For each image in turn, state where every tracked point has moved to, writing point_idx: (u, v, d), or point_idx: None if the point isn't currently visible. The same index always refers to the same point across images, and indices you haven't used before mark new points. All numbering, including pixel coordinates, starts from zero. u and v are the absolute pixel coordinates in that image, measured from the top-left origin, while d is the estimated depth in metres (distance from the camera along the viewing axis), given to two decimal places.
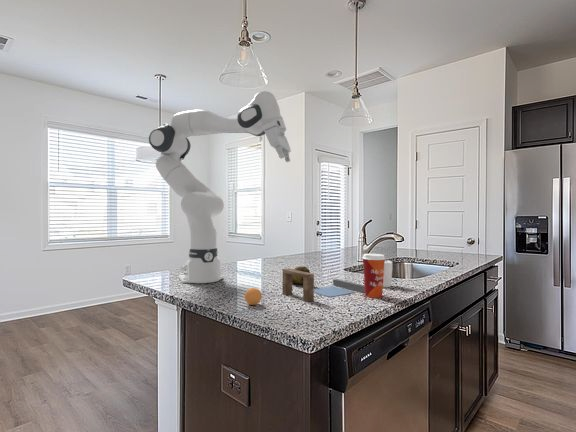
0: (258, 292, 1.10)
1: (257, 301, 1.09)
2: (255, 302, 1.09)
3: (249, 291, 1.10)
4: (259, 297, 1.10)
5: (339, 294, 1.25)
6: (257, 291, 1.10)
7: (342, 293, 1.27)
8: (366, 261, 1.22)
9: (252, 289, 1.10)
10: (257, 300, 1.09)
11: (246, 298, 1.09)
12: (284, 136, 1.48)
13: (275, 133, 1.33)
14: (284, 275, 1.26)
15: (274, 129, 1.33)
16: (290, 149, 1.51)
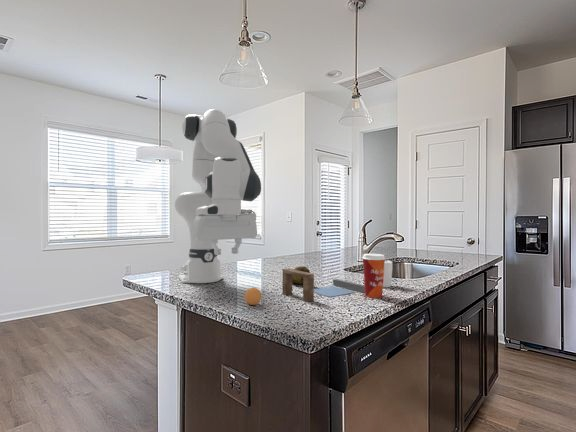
0: (258, 292, 1.10)
1: (257, 301, 1.09)
2: (255, 302, 1.09)
3: (249, 291, 1.10)
4: (259, 297, 1.10)
5: (339, 294, 1.25)
6: (257, 291, 1.10)
7: (342, 293, 1.27)
8: (366, 261, 1.22)
9: (252, 289, 1.10)
10: (257, 300, 1.09)
11: (246, 298, 1.09)
12: (244, 218, 1.07)
13: (197, 226, 0.99)
14: (284, 275, 1.26)
15: (198, 220, 0.99)
16: (255, 234, 1.10)
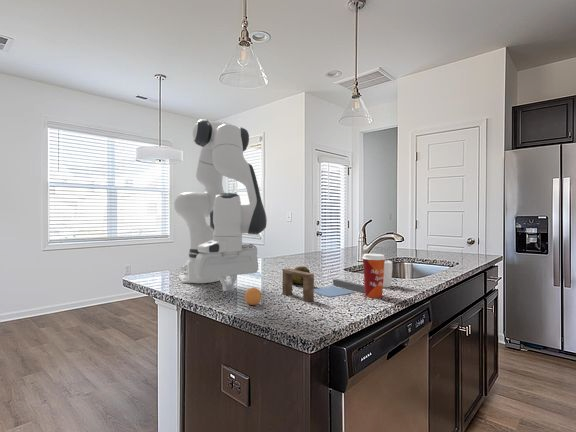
0: (258, 292, 1.10)
1: (257, 301, 1.09)
2: (255, 302, 1.09)
3: (249, 291, 1.10)
4: (259, 297, 1.10)
5: (339, 294, 1.25)
6: (257, 291, 1.10)
7: (342, 293, 1.27)
8: (366, 261, 1.22)
9: (252, 289, 1.10)
10: (257, 300, 1.09)
11: (246, 298, 1.09)
12: (245, 254, 1.07)
13: (199, 265, 0.99)
14: (284, 275, 1.26)
15: (200, 258, 0.99)
16: (256, 269, 1.09)
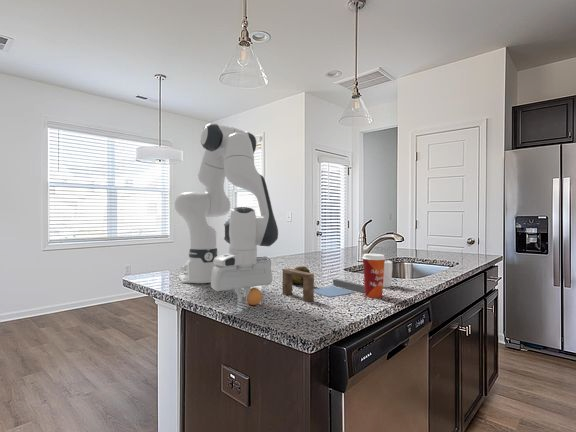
0: (259, 292, 1.10)
1: (258, 301, 1.10)
2: (255, 302, 1.09)
3: None
4: (260, 297, 1.10)
5: (339, 294, 1.25)
6: (258, 291, 1.10)
7: (342, 293, 1.27)
8: (366, 261, 1.22)
9: (253, 289, 1.10)
10: (258, 300, 1.09)
11: (247, 298, 1.10)
12: (260, 266, 1.11)
13: (215, 277, 1.02)
14: (284, 275, 1.26)
15: (216, 271, 1.03)
16: (270, 281, 1.13)
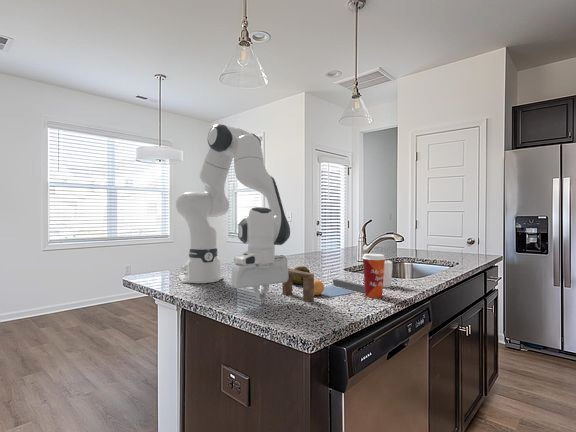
0: (319, 293, 1.23)
1: (318, 286, 1.23)
2: (319, 284, 1.23)
3: None
4: (318, 290, 1.23)
5: (339, 294, 1.25)
6: (319, 293, 1.24)
7: (342, 293, 1.27)
8: (366, 261, 1.22)
9: None
10: (319, 287, 1.23)
11: None
12: (277, 264, 1.15)
13: (236, 275, 1.06)
14: None
15: (237, 270, 1.06)
16: (286, 279, 1.17)
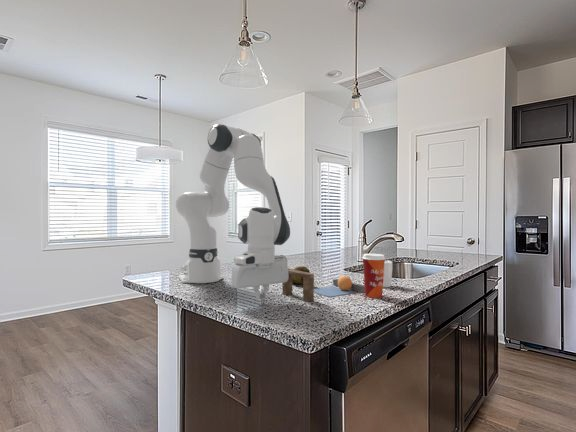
0: None
1: (346, 286, 1.30)
2: (345, 284, 1.30)
3: (350, 279, 1.33)
4: (349, 287, 1.31)
5: (339, 294, 1.25)
6: (351, 285, 1.32)
7: (342, 293, 1.27)
8: (366, 261, 1.22)
9: None
10: (347, 285, 1.30)
11: (345, 277, 1.32)
12: (277, 264, 1.15)
13: (236, 275, 1.06)
14: None
15: (237, 270, 1.06)
16: (286, 279, 1.17)
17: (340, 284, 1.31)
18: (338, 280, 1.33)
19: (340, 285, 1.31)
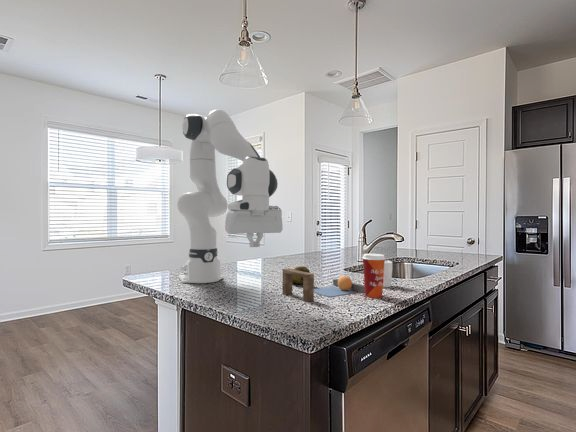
0: None
1: (346, 286, 1.30)
2: (345, 284, 1.30)
3: (350, 279, 1.33)
4: (349, 287, 1.31)
5: (339, 294, 1.25)
6: (351, 285, 1.32)
7: (342, 293, 1.27)
8: (366, 261, 1.22)
9: None
10: (347, 285, 1.30)
11: (345, 277, 1.32)
12: (271, 214, 1.15)
13: (230, 220, 1.06)
14: (284, 275, 1.26)
15: (231, 215, 1.07)
16: (280, 229, 1.17)
17: (340, 284, 1.31)
18: (338, 280, 1.33)
19: (340, 285, 1.31)
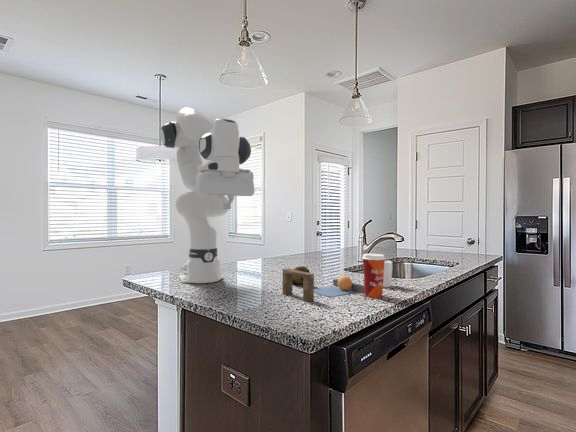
0: None
1: (346, 286, 1.30)
2: (345, 284, 1.30)
3: (350, 279, 1.33)
4: (349, 287, 1.31)
5: (339, 294, 1.25)
6: (351, 285, 1.32)
7: (342, 293, 1.27)
8: (366, 261, 1.22)
9: None
10: (347, 285, 1.30)
11: (345, 277, 1.32)
12: (242, 176, 1.16)
13: (199, 180, 1.07)
14: (284, 275, 1.26)
15: (200, 175, 1.07)
16: (252, 192, 1.18)
17: (340, 284, 1.31)
18: (338, 280, 1.33)
19: (340, 285, 1.31)
